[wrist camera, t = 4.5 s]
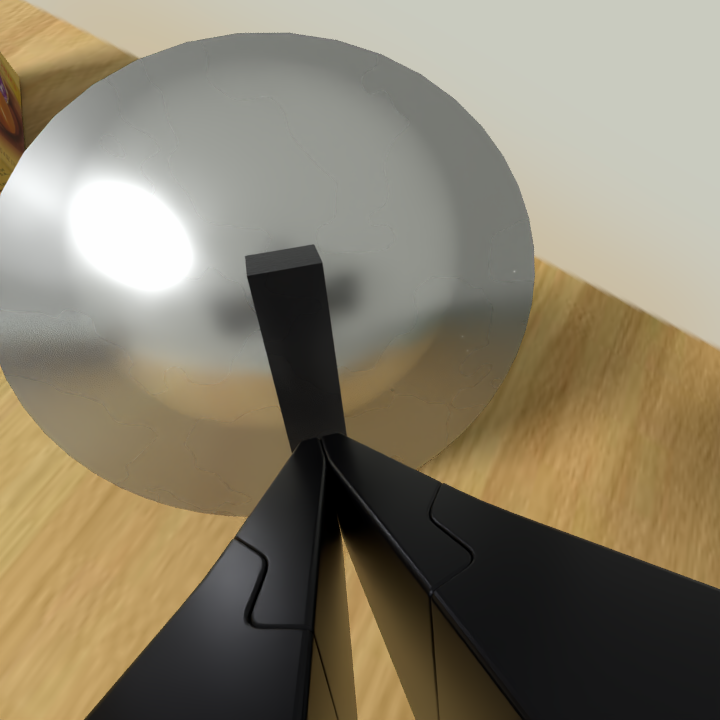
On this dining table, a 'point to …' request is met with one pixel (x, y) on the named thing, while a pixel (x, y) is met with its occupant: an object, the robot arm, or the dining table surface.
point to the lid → (258, 267)
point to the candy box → (9, 121)
